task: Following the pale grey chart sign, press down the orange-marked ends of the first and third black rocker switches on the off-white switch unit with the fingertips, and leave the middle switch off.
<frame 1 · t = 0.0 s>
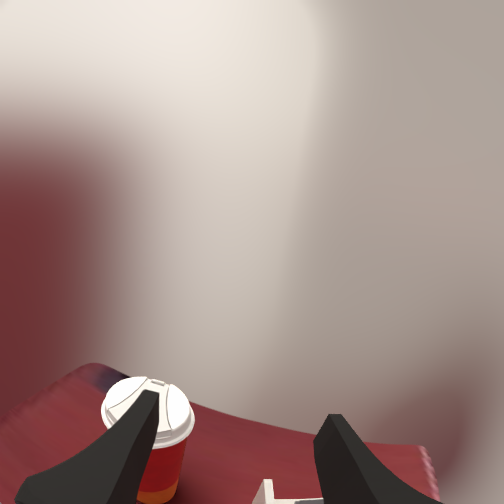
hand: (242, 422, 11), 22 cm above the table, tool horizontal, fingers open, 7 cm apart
paper cup: (150, 486, 23), on the table
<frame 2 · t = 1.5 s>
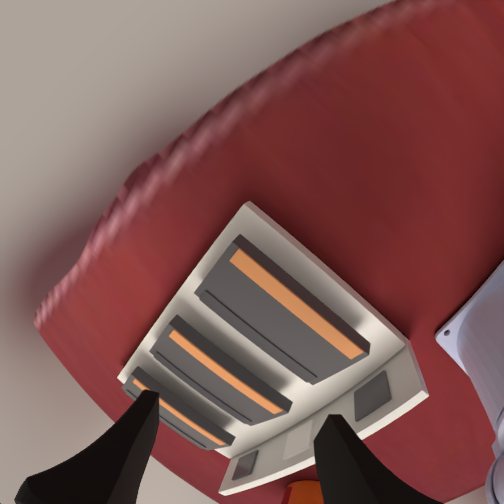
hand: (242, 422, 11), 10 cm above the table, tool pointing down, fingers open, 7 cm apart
paper cup: (309, 488, 27), on the table
switch 1: (281, 320, 17), point 3 cm above the table, hinge at 15.0°
switch 3: (174, 414, 22), point 3 cm above the table, hinge at 15.0°
switch 2: (216, 379, 20), point 3 cm above the table, hinge at 15.0°
switch unit: (238, 363, 22), on the table
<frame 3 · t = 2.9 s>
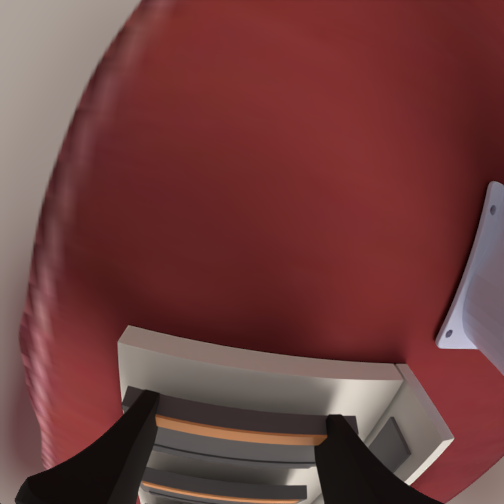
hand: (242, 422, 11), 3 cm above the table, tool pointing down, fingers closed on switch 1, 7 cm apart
switch 1: (236, 441, 12), point 3 cm above the table, hinge at 14.7°, touching gripper
switch 2: (218, 495, 14), point 3 cm above the table, hinge at 15.0°
switch unit: (234, 463, 17), on the table
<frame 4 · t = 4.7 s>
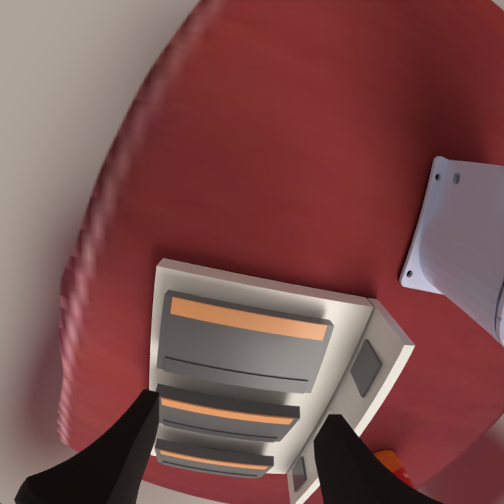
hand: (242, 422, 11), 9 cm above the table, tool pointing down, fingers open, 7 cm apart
paper cup: (375, 460, 27), on the table
switch 1: (242, 347, 17), point 3 cm above the table, hinge at -8.6°
switch 3: (212, 462, 21), point 3 cm above the table, hinge at 15.0°
switch 2: (224, 419, 19), point 3 cm above the table, hinge at 15.0°
switch unit: (238, 394, 22), on the table
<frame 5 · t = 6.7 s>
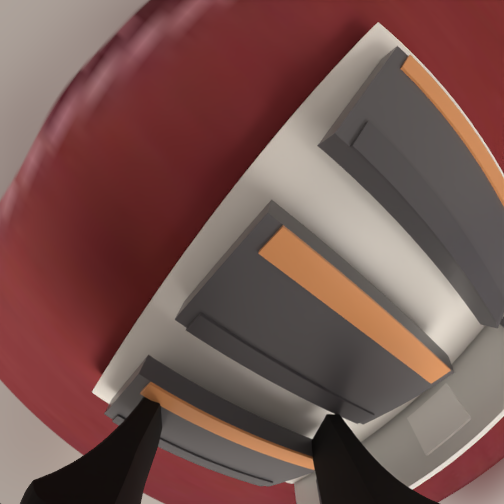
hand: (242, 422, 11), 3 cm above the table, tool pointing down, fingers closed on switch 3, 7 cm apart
switch 1: (462, 196, 8), point 3 cm above the table, hinge at -21.0°
switch 3: (220, 442, 11), point 3 cm above the table, hinge at 10.6°, touching gripper
switch 2: (334, 348, 10), point 3 cm above the table, hinge at 15.0°
switch unit: (333, 320, 13), on the table
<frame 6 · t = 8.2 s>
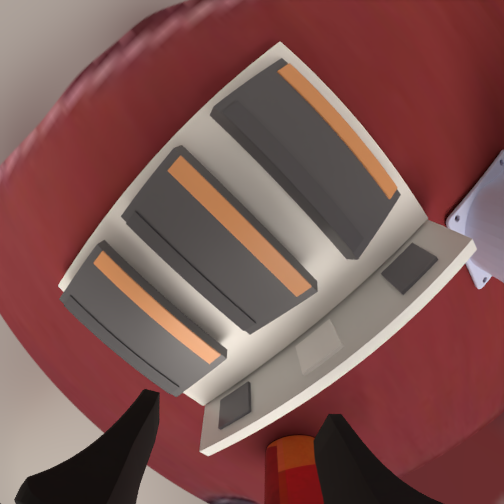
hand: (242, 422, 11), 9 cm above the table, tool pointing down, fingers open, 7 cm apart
paper cup: (293, 448, 25), on the table
switch 1: (318, 154, 14), point 3 cm above the table, hinge at -23.7°, touching switch unit
switch 3: (139, 327, 17), point 3 cm above the table, hinge at -1.4°
switch 2: (217, 249, 15), point 3 cm above the table, hinge at 15.0°
switch unit: (233, 246, 18), on the table
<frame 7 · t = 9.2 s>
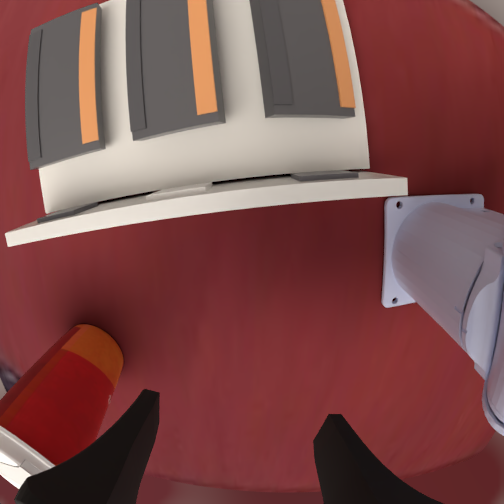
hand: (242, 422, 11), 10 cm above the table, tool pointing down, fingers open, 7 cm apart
paper cup: (96, 350, 22), on the table
switch 1: (301, 32, 12), point 3 cm above the table, hinge at -21.7°
switch 3: (61, 81, 13), point 3 cm above the table, hinge at -7.0°
switch 2: (169, 46, 12), point 3 cm above the table, hinge at 15.0°
switch unit: (181, 75, 16), on the table
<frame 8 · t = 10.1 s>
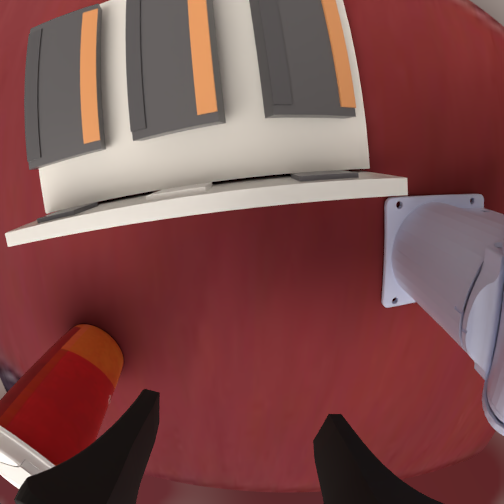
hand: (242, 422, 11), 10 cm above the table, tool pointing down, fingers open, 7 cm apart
paper cup: (96, 350, 22), on the table
switch 1: (301, 32, 12), point 3 cm above the table, hinge at -20.3°
switch 3: (61, 81, 13), point 3 cm above the table, hinge at -10.8°
switch 2: (169, 46, 12), point 3 cm above the table, hinge at 15.0°
switch unit: (181, 75, 16), on the table
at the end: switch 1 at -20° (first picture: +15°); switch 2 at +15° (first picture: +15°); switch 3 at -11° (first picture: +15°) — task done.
